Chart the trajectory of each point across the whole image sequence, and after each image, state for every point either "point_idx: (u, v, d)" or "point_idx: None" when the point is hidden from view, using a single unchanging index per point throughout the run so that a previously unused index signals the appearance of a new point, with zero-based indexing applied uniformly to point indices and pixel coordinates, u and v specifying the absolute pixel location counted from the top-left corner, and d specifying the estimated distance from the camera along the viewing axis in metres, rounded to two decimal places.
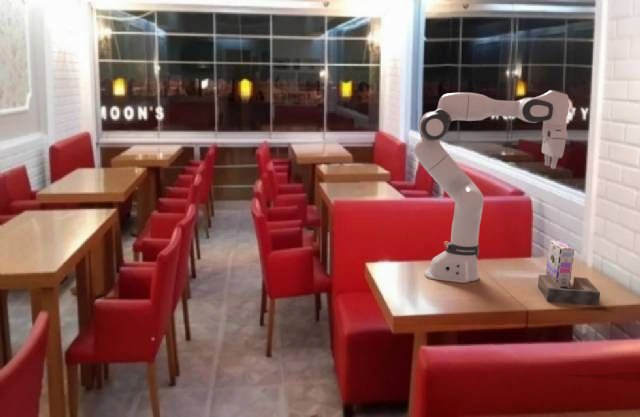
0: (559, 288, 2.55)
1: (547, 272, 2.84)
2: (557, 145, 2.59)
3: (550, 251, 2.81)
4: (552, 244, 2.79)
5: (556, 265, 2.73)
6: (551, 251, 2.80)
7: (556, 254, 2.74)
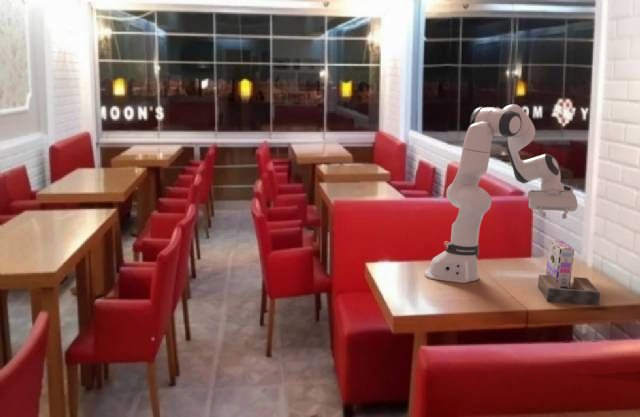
0: (559, 288, 2.55)
1: (547, 272, 2.84)
2: None
3: (550, 251, 2.81)
4: (552, 244, 2.79)
5: (556, 265, 2.73)
6: (551, 251, 2.80)
7: (556, 254, 2.74)
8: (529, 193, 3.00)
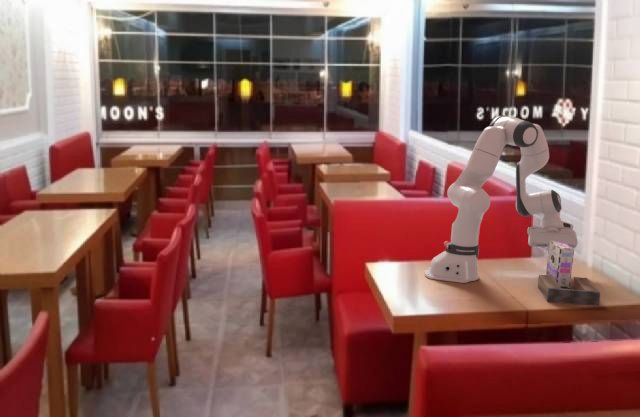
0: (559, 288, 2.55)
1: (547, 272, 2.84)
2: None
3: (550, 251, 2.81)
4: (552, 244, 2.79)
5: (556, 265, 2.73)
6: (551, 251, 2.80)
7: (556, 254, 2.74)
8: (528, 230, 2.97)
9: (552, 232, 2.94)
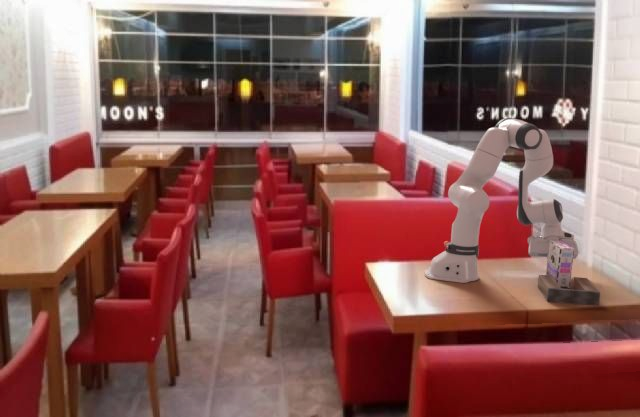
0: (559, 288, 2.55)
1: (547, 272, 2.84)
2: None
3: (550, 251, 2.81)
4: (552, 244, 2.79)
5: (556, 265, 2.73)
6: (551, 251, 2.80)
7: (556, 254, 2.74)
8: (529, 239, 2.93)
9: None
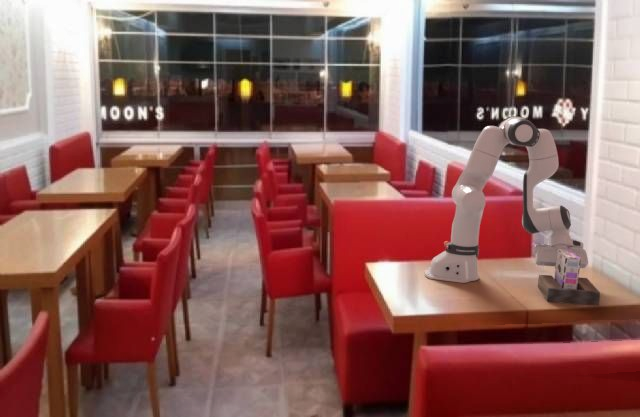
0: (559, 288, 2.55)
1: None
2: None
3: (557, 260, 2.67)
4: (559, 253, 2.65)
5: (562, 275, 2.59)
6: (558, 260, 2.66)
7: (562, 263, 2.60)
8: (536, 247, 2.79)
9: None
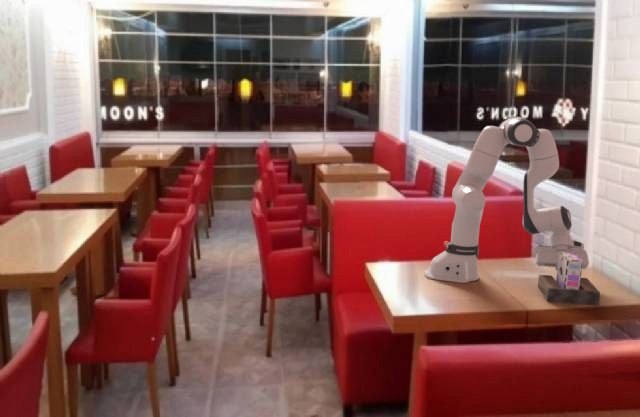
0: (559, 288, 2.55)
1: None
2: None
3: (559, 262, 2.64)
4: (561, 255, 2.62)
5: (564, 278, 2.56)
6: (560, 262, 2.63)
7: (563, 266, 2.57)
8: (536, 248, 2.78)
9: None
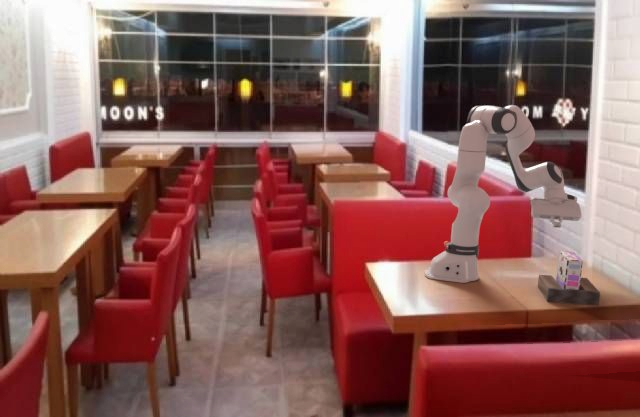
0: (559, 288, 2.55)
1: None
2: None
3: (559, 262, 2.64)
4: (561, 255, 2.62)
5: (564, 278, 2.56)
6: (560, 262, 2.63)
7: (563, 266, 2.57)
8: (532, 201, 2.92)
9: (556, 204, 2.89)
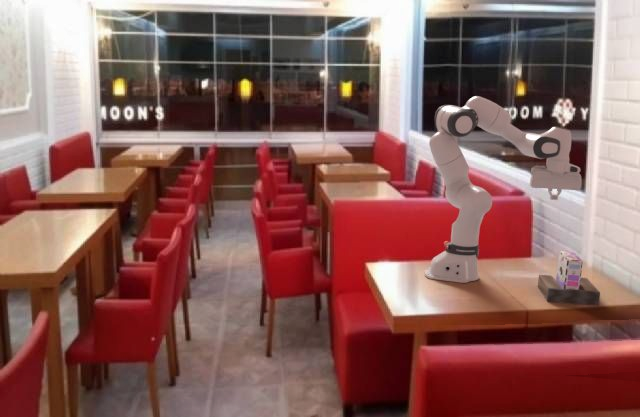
0: (559, 288, 2.55)
1: None
2: None
3: (559, 262, 2.64)
4: (561, 255, 2.62)
5: (564, 278, 2.56)
6: (560, 262, 2.63)
7: (563, 266, 2.57)
8: (532, 170, 2.80)
9: None
